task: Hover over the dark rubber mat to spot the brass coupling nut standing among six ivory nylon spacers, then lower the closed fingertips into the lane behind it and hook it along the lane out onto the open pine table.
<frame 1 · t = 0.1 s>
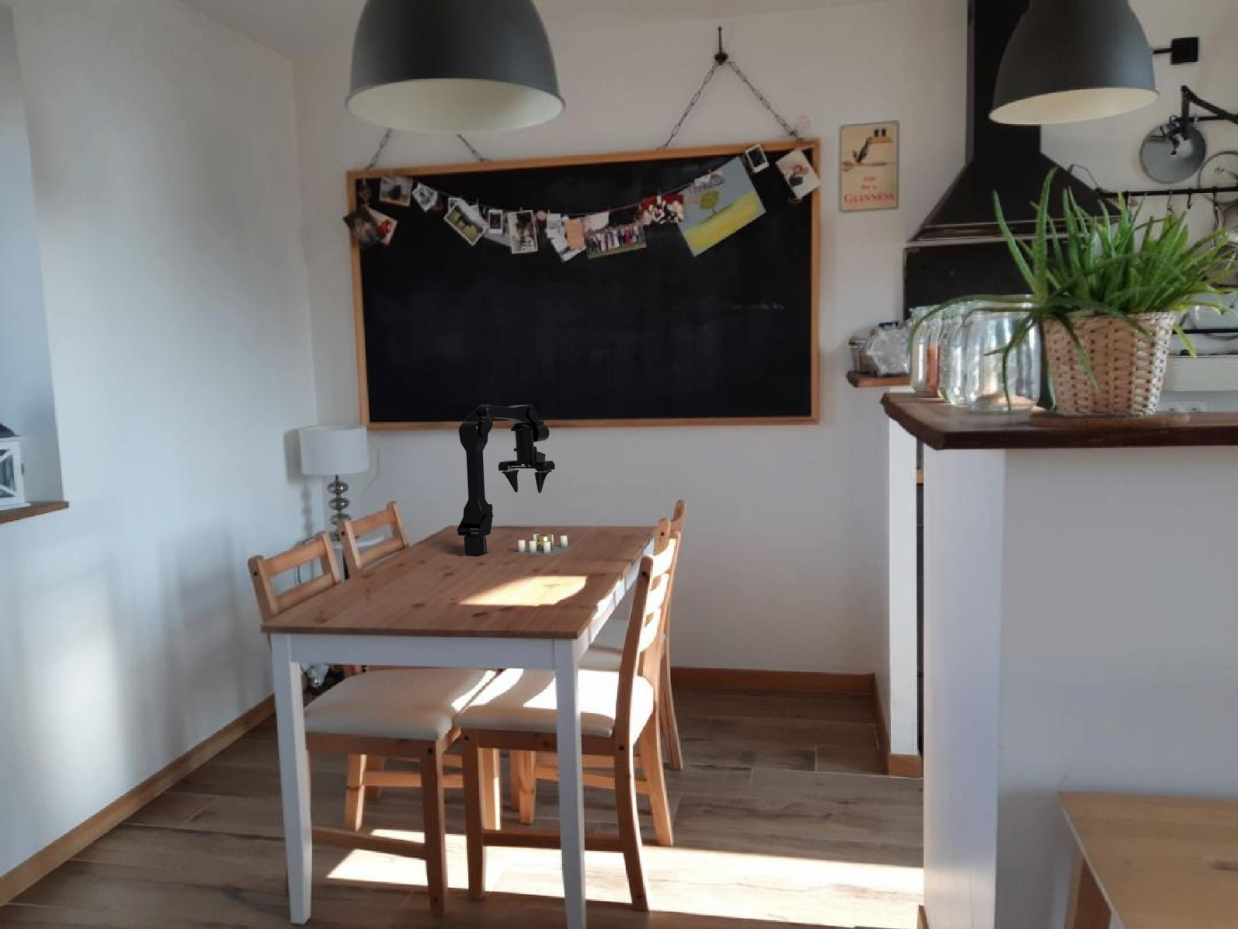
hand: (528, 492, 305), 14 cm above the table, tool pointing down, fingers open, 9 cm apart
spacers: (541, 543, 282), on the mat
nut: (544, 542, 281), on the mat
mat: (544, 551, 282), on the table
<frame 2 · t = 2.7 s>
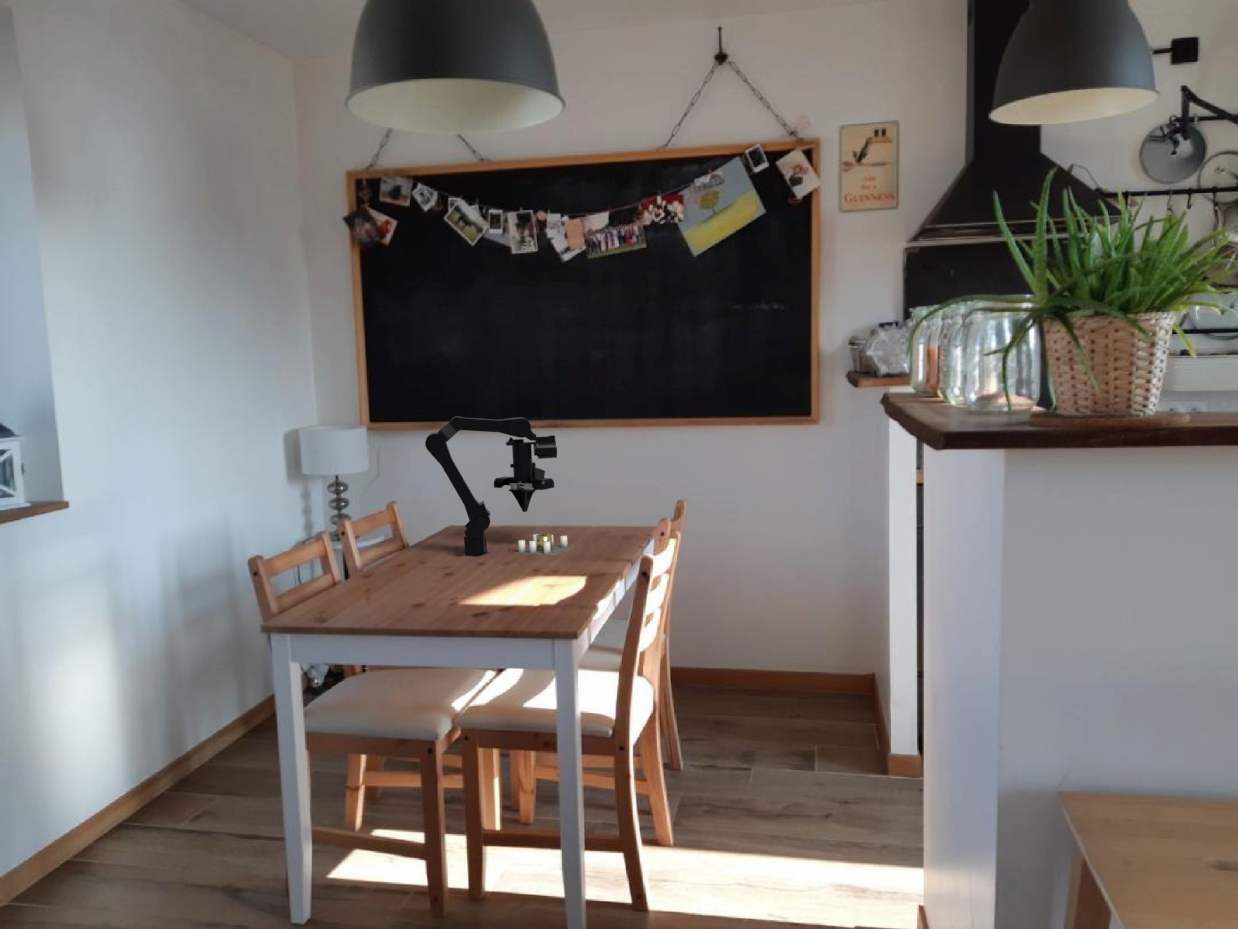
hand: (525, 511, 283), 12 cm above the table, tool pointing down, fingers closed
nothing on the table moved.
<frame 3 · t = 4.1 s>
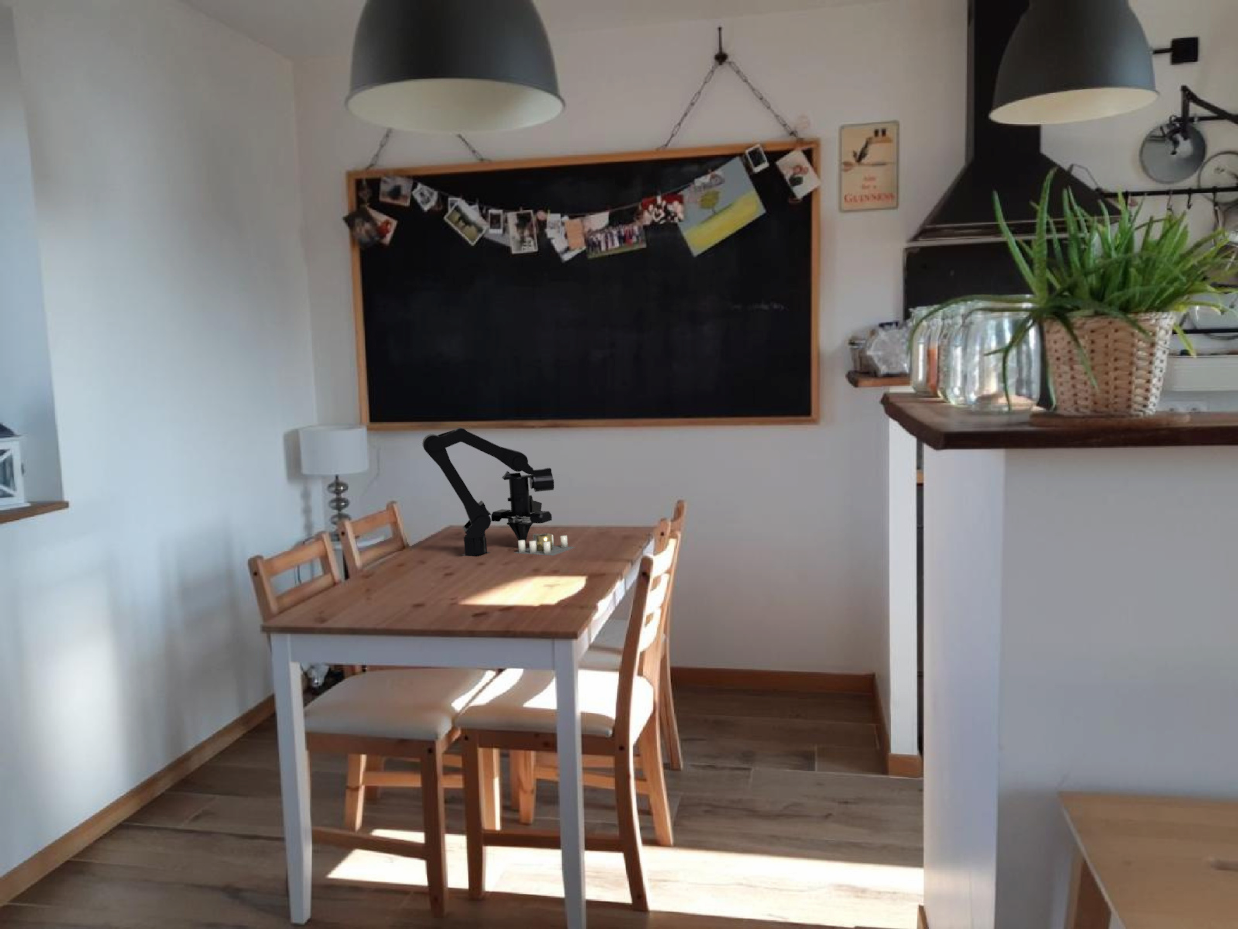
hand: (523, 544, 285), 2 cm above the table, tool pointing down, fingers closed
nothing on the table moved.
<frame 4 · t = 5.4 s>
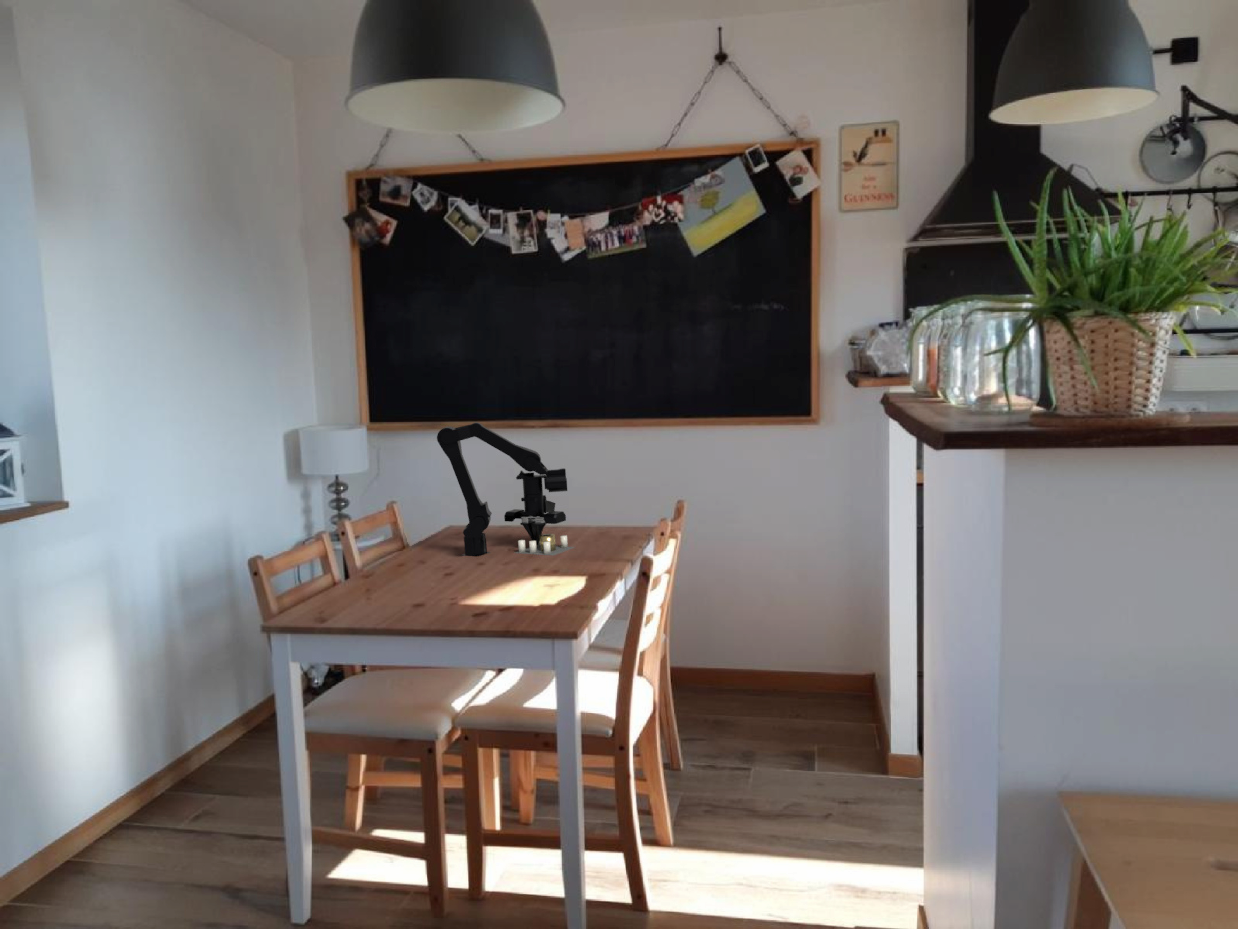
hand: (536, 544, 283), 2 cm above the table, tool pointing down, fingers closed
nut: (547, 542, 281), resting on mat, touching gripper
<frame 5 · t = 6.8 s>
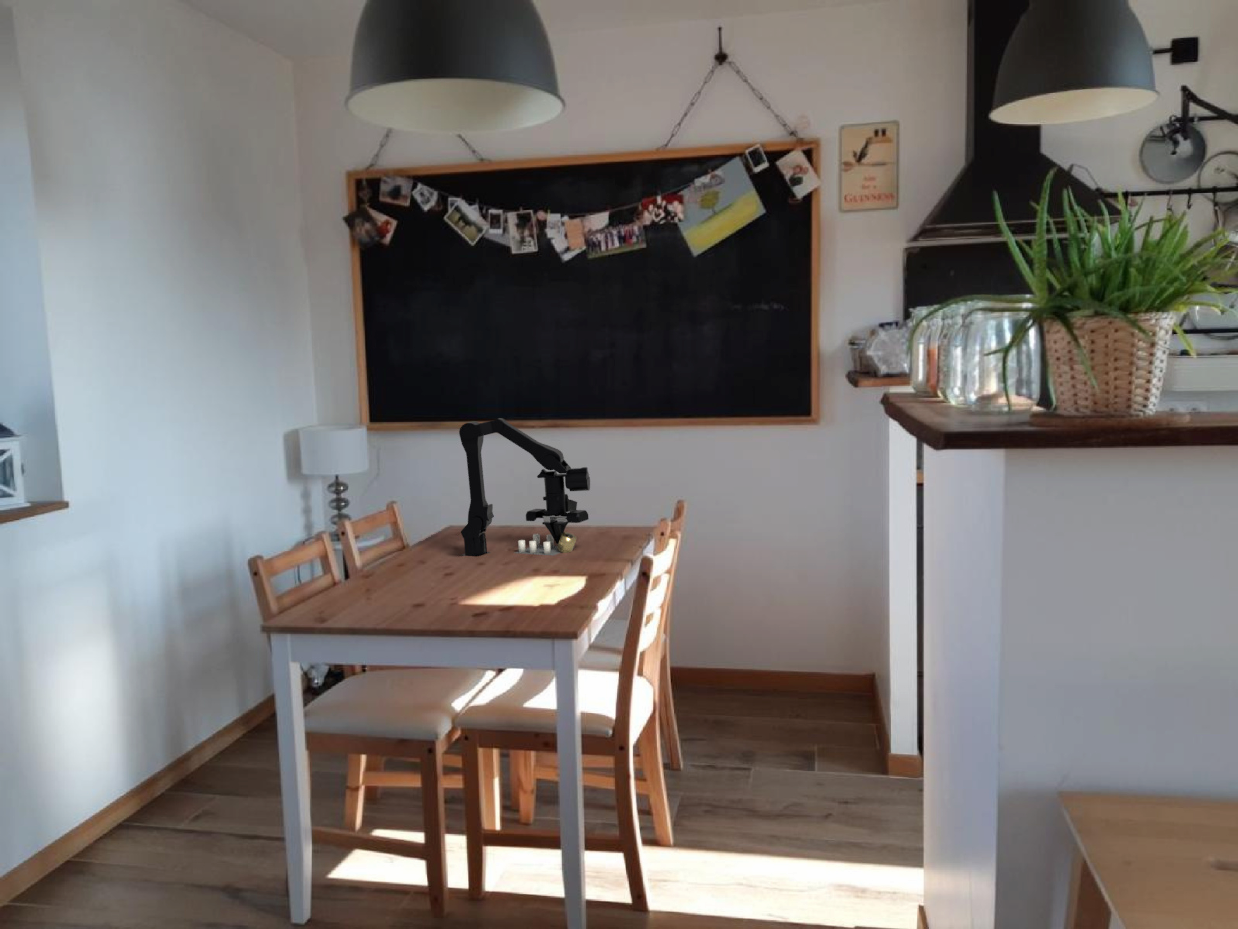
hand: (558, 544, 279), 2 cm above the table, tool pointing down, fingers closed, pressing on nut
nut: (566, 542, 277), on the table, tilted 26°, touching gripper
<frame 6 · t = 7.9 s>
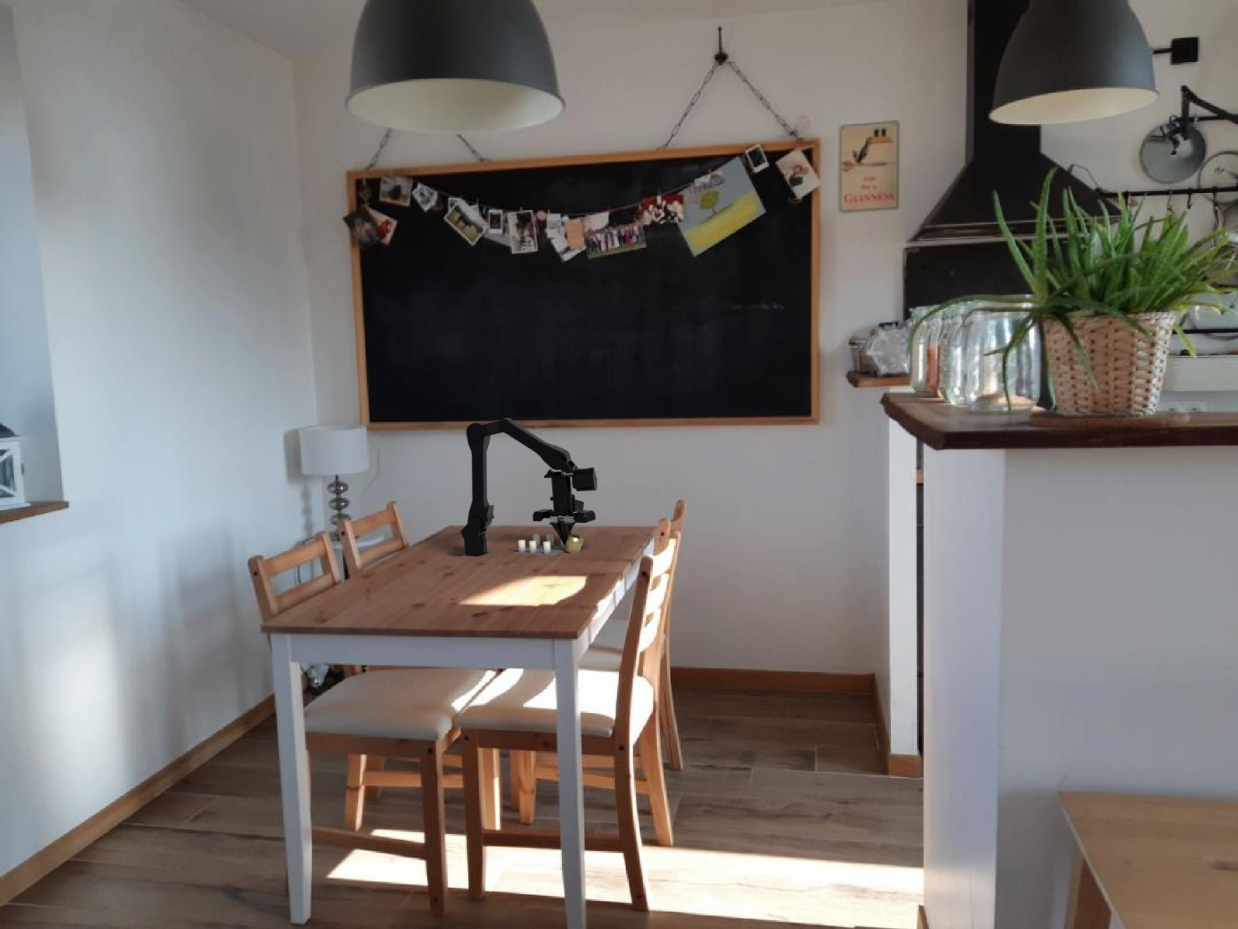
hand: (565, 544, 278), 2 cm above the table, tool pointing down, fingers closed
nut: (574, 543, 276), on the table, tilted 26°, touching gripper
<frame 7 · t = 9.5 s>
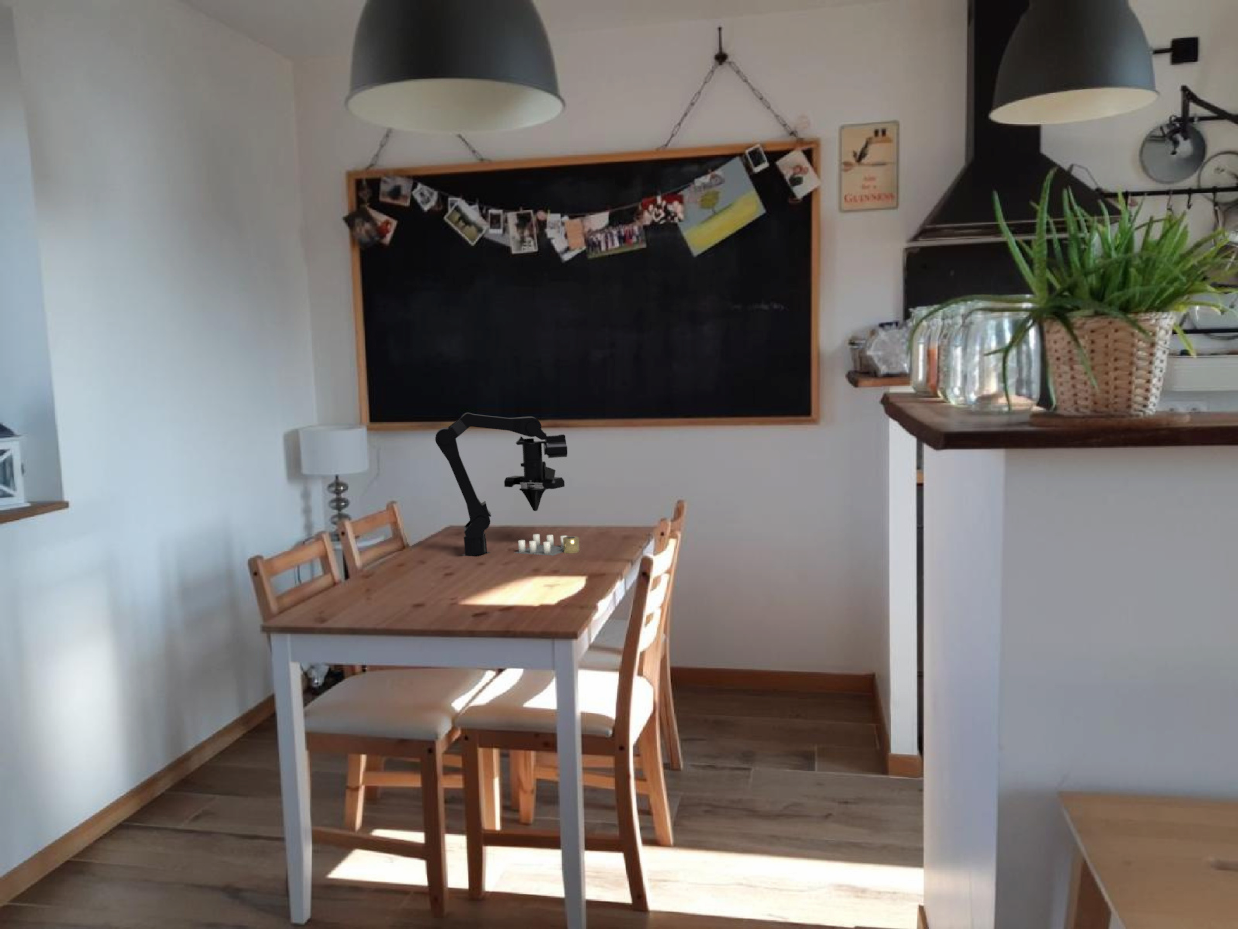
hand: (535, 510, 284), 12 cm above the table, tool pointing down, fingers closed
nut: (571, 545, 277), on the table
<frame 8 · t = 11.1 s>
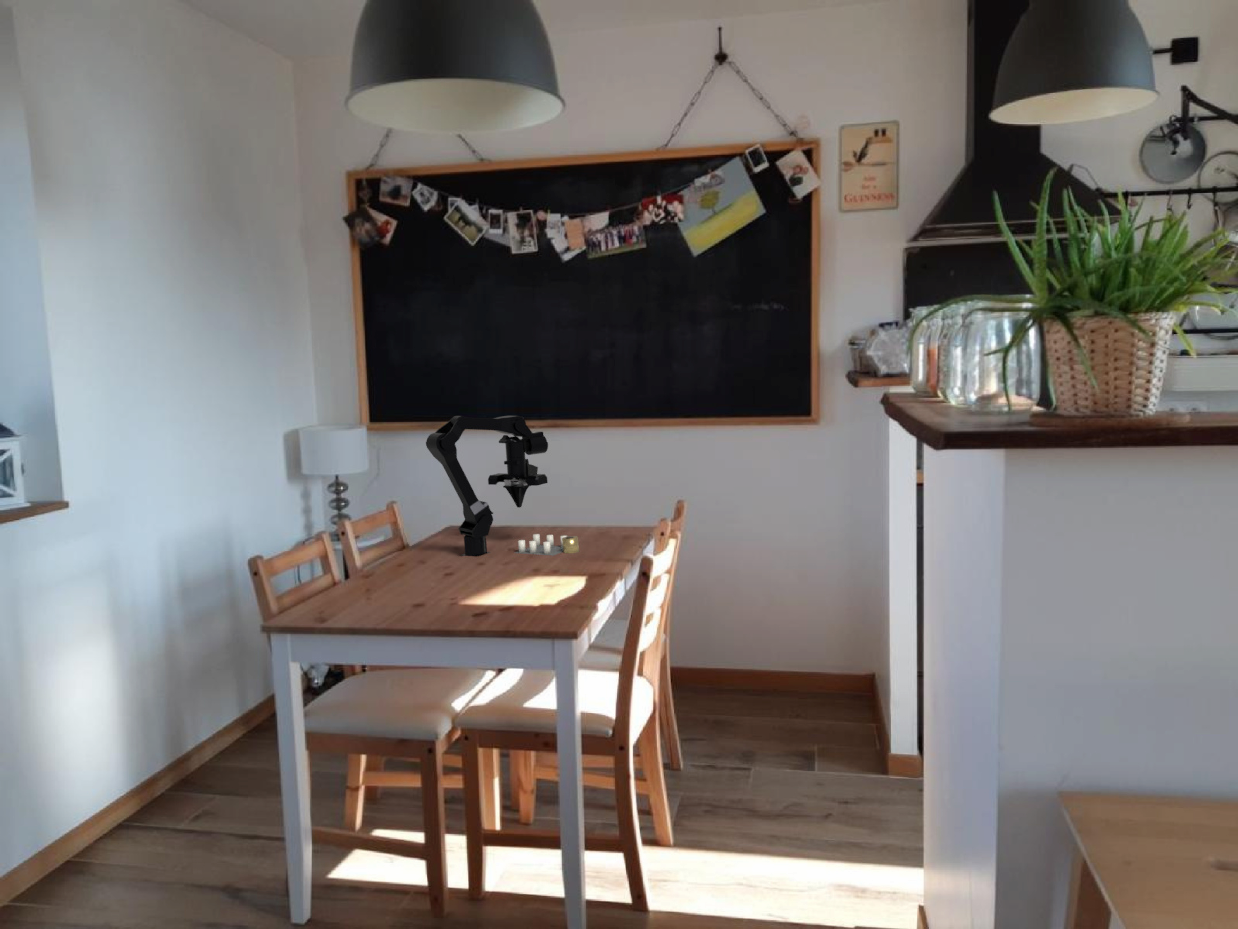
hand: (519, 507, 291), 12 cm above the table, tool pointing down, fingers closed
nothing on the table moved.
at the end: nut inside the target area (6.9 cm from its centre), on the table; nut touching table; nut moved 9.4 cm from its start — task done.
